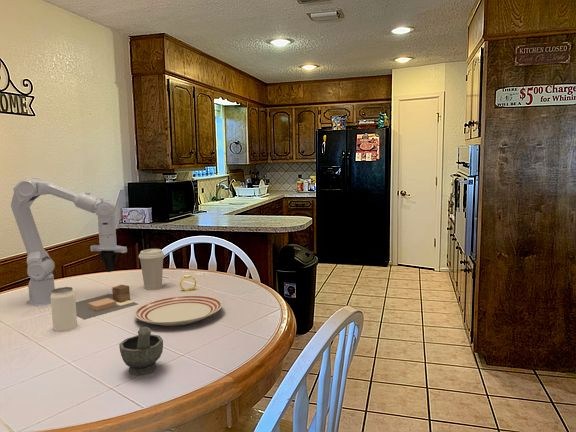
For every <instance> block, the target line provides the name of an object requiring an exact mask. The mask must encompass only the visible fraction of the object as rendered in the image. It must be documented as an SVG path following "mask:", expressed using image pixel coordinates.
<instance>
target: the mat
mask: <svg viewBox="0 0 576 432" xmlns="http://www.w3.org/2000/svg"><path fill="white" fill-rule="evenodd" d="M105 298H109V299H112V300H113V293H107V294H103V295H99V296H95V297H92V298H87V299H84V300H79V301H75V302H76V314H77V317H78V318H79V319H82V320H88V319H92V318H96V317H99V316H102V315H106V314H108V313H110V314H111V313H113V312H116V311H119V310H123V309H126V308H130V307H131V308H132V307H134V306H137V305H139V303H138V302H135V301H133V300H131V299H130V300H127V301H125V302H122V303H120V302H116V304H117V306H115V307H111V308H108V309H104V310H100V311H95V310H93V309H90V308H88V303H90V302H94V301H98V300H102V299H105Z"/></svg>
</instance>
